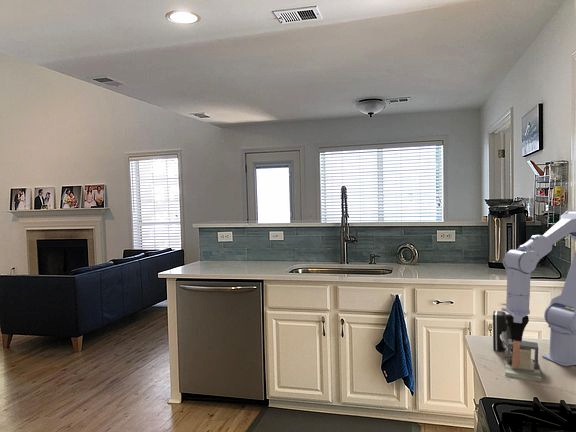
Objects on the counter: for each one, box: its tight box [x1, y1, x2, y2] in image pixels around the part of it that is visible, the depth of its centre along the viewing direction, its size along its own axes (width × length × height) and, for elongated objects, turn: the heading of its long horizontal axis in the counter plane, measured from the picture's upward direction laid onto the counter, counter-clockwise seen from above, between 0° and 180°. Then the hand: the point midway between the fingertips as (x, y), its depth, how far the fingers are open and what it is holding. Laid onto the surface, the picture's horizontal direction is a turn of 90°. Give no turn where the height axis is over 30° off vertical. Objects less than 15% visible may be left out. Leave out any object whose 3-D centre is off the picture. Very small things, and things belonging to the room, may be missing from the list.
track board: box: [504, 354, 542, 383], centre depth 125 cm, size 14×8×1 cm, turn 154°
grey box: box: [507, 339, 539, 369], centre depth 126 cm, size 4×7×6 cm, turn 64°
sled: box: [511, 339, 534, 372], centre depth 125 cm, size 8×5×8 cm
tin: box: [500, 322, 523, 352], centre depth 143 cm, size 15×3×8 cm, turn 169°
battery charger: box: [492, 310, 507, 352], centre depth 141 cm, size 7×4×11 cm, turn 153°
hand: (516, 341), depth 126 cm, fingers closed
